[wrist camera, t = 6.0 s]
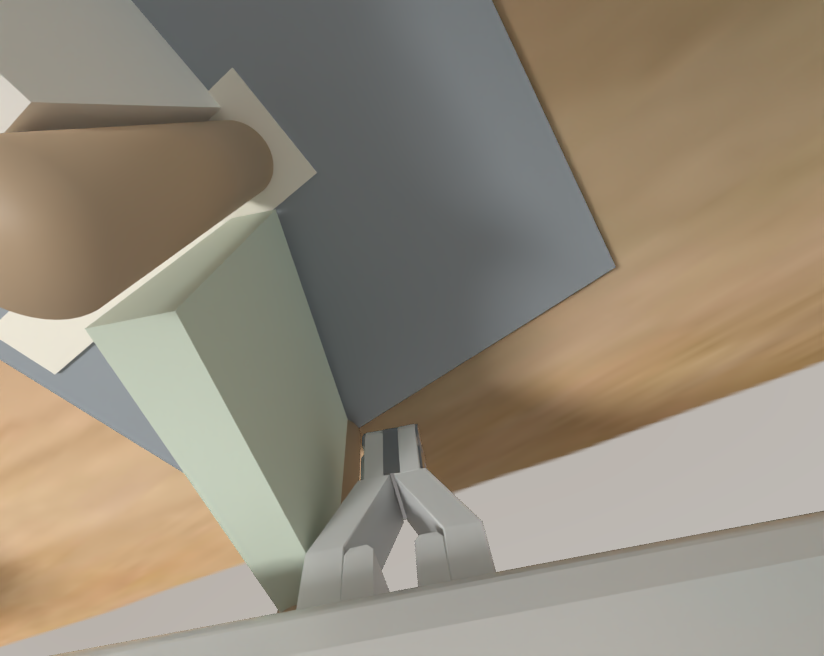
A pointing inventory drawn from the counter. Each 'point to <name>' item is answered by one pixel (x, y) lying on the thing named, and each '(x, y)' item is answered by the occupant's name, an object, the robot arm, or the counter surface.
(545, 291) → the board
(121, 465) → the counter surface
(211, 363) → the fence panel
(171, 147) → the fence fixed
